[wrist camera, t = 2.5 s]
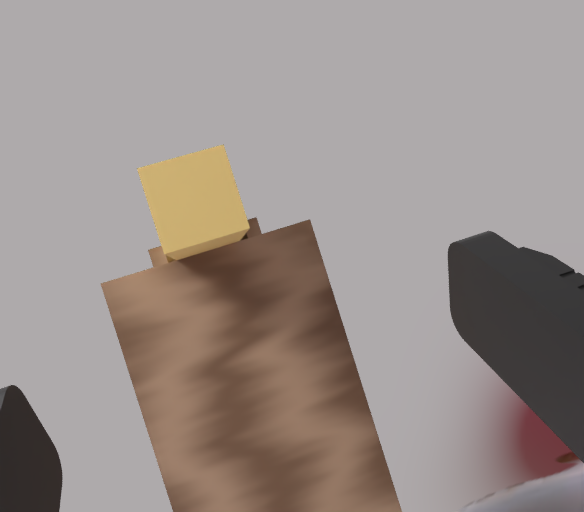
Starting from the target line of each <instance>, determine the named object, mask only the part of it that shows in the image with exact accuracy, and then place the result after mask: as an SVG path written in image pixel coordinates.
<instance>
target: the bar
mask: <svg viewBox="0 0 584 512" xmlns="http://www.w3.org/2000/svg"><path fill="white" fill-rule="evenodd" d="M137 169H138V173H139V176H140V179H141V183H142V186H143V189H144V192H145V195H146V198H147V201H148V205H149V207H150V210H151V214H152V217H153V220H154V224H155V227H156V230H157V233H158V236H159V239H160V242H161V245H162V249H163V252H164V254H165V255H167V256H169V257H171V258H173V259H175V260H179V259H183V258H186V257H189V256H192V255H196V254H199V253H202V252H206V251H209V250H212V249H215V248H219V247H222V246H225V245H228V244H232V243H235V242H238V241H240V240H241V239H242V237H243V236H244V235H245V234H246V232H247V231H248V230H249V229H250V227H249V223H248V220H247V217H246V214H245V211H244V208H243V205H242V201H241V198H240V195H239V192H238V189H237V186H236V182H235V179H234V176H233V173H232V170H231V166H230V163H229V160H228V157H227V154H226V151H225V148H224V145H220V146H216V147H213V148H209V149H205V150H202V151H199V152H195V153H191V154H187V155H184V156H180V157H176V158H173V159H169V160H166V161H162V162H159V163H155V164H151V165H147V166H144V167H141V168H137Z"/></svg>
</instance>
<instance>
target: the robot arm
mask: <svg viewBox="0 0 584 512" xmlns="http://www.w3.org/2000/svg"><path fill="white" fill-rule="evenodd" d="M448 271H449V293H450V311H451V316H452V319H453V322H454V325H455V327H456V329H457V331H458V332H459V334H460V336H461V337H462V338H463V339H464V341H465V342H466V343H467V344H468V345H469V346H470V347H471V348H472V349H473V350H474V351H475V352H476V353H477V354H478V355H479V356H480V357H481V358H482V359H483V360H484V361H485V362H486V363H487V364H488V365H489V366H490V367H491V368H492V369H493V370H494V371H495V372H496V373H497V374H498V375H499V377H500V378H501V379H502V380H503V381H504V382H505V383H506V384H507V385H508V386H509V387H510V388H511V389H512V390H513V391H514V392H515V393H516V394H517V395H518V396H519V397H520V398H521V399H522V400H523V401H524V402H525V403H526V404H527V405H528V406H529V407H530V408H531V409H532V410H533V411H534V412H535V413H536V415H538V416H539V418H540V419H541V420H543V422H544V423H545V424H546V425H547V426H548V427H549V428H550V429H551V430H552V431H553V432H554V433H555V434H556V435H557V436H558V437H559V438H560V439H561V440H562V441H563V442H564V443H565V444H566V445H567V446H568V447H569V448H570V449H571V450H572V451H573V452H574V454H575V455H576V456H577V457H578V458H579V459H580V460H581V461H582V462H583V463H584V275H582V274H580V273H575V272H574V269H572V268H570V267H569V266H568V265H566V264H564V263H563V262H561V261H560V260H558V259H556V258H555V257H553V256H551V255H548V254H544V253H541V252H538V251H535V250H532V249H528V248H525V247H522V248H519V249H518V248H517V247H515V246H514V245H512V244H511V243H509V242H508V241H506V240H505V239H503V238H502V237H500V236H499V235H497V234H496V233H494V232H491V231H487V232H484V233H481V234H478V235H475V236H472V237H469V238H465V239H462V240H459V241H456V242H453V243H452V244H450V246H449V249H448ZM61 490H62V468H61V463H60V459H59V455H58V453H57V450H56V448H55V446H54V444H53V442H52V440H51V439H50V437H49V436H48V434H47V432H46V431H45V429H44V427H43V426H42V424H41V422H40V421H39V419H38V417H37V416H36V414H35V412H34V411H33V409H32V408H31V406H30V404H29V402H28V401H27V399H26V397H25V396H24V394H23V393H22V391H21V390H20V389H19V388H18V387H16V386H14V385H11V386H8V387H5V388H2V389H0V512H59V508H60V499H61Z"/></svg>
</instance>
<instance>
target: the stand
mask: <svg viewBox="0 0 584 512" xmlns="http://www.w3.org/2000/svg"><path fill="white" fill-rule="evenodd" d="M248 223H249V227H250V229H249V230H248V231H247V232H246V234H245V235H244V236H243V237H242V239H241V240H240V241H238V242H235V243H232V244H228V245H225V246H222V247H219V248H215V249H212V250H209V251H206V252H202V253H199V254H196V255H192V256H189V257H186V258H183V259H179V260H175V259H173V258H171V257H169V256H167V255H165V254H164V252H163V249H162V246H160V247H156V248H153V249H150V250H148V251H149V254H150V257H151V260H152V264H153V268H151V269H147V270H144V271H141V272H137V273H134V274H131V275H127V276H124V277H121V278H118V279H114V280H111V281H108V282H105V283H101V286H102V289H103V292H104V295H105V299H106V302H107V305H108V308H109V311H110V314H111V318H112V321H113V323H114V327H115V330H116V333H117V336H118V339H119V343H120V346H121V349H122V352H123V355H124V358H125V361H126V364H127V368H128V371H129V374H130V377H131V380H132V384H133V387H134V389H135V393H136V396H137V399H138V402H139V405H140V408H141V412H142V415H143V418H144V421H145V424H146V427H147V431H148V434H149V437H150V440H151V443H152V446H153V449H154V452H155V456H156V458H157V462H158V465H159V468H160V471H161V475H162V478H163V481H164V484H165V487H166V490H167V493H168V496H169V500H170V502H171V506H172V509H173V512H402V511H401V508H400V504H399V501H398V498H397V495H396V491H395V488H394V485H393V482H392V480H391V476H390V473H389V469H388V466H387V463H386V460H385V457H384V453H383V450H382V447H381V444H380V441H379V437H378V434H377V431H376V428H375V425H374V422H373V419H372V415H371V412H370V409H369V406H368V403H367V400H366V396H365V393H364V390H363V387H362V384H361V380H360V377H359V374H358V371H357V368H356V364H355V361H354V358H353V355H352V352H351V348H350V345H349V342H348V339H347V336H346V333H345V329H344V326H343V323H342V320H341V317H340V314H339V310H338V307H337V304H336V301H335V298H334V295H333V291H332V288H331V285H330V282H329V279H328V275H327V272H326V269H325V266H324V263H323V259H322V256H321V254H320V250H319V247H318V244H317V241H316V237H315V234H314V231H313V228H312V225H311V221H310V220H307V221H303V222H300V223H297V224H294V225H290V226H287V227H284V228H280V229H277V230H274V231H271V232H268V233H264V234H261V230H260V227H259V224H258V221H257V218H252V219H249V220H248Z"/></svg>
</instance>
